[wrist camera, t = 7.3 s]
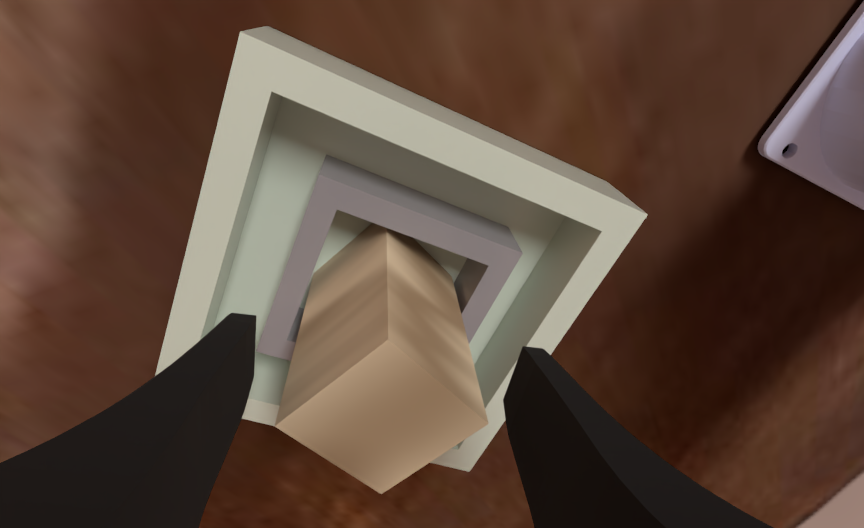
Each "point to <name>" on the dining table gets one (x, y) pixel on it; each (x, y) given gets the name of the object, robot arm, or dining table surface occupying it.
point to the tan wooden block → (381, 362)
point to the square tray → (383, 217)
